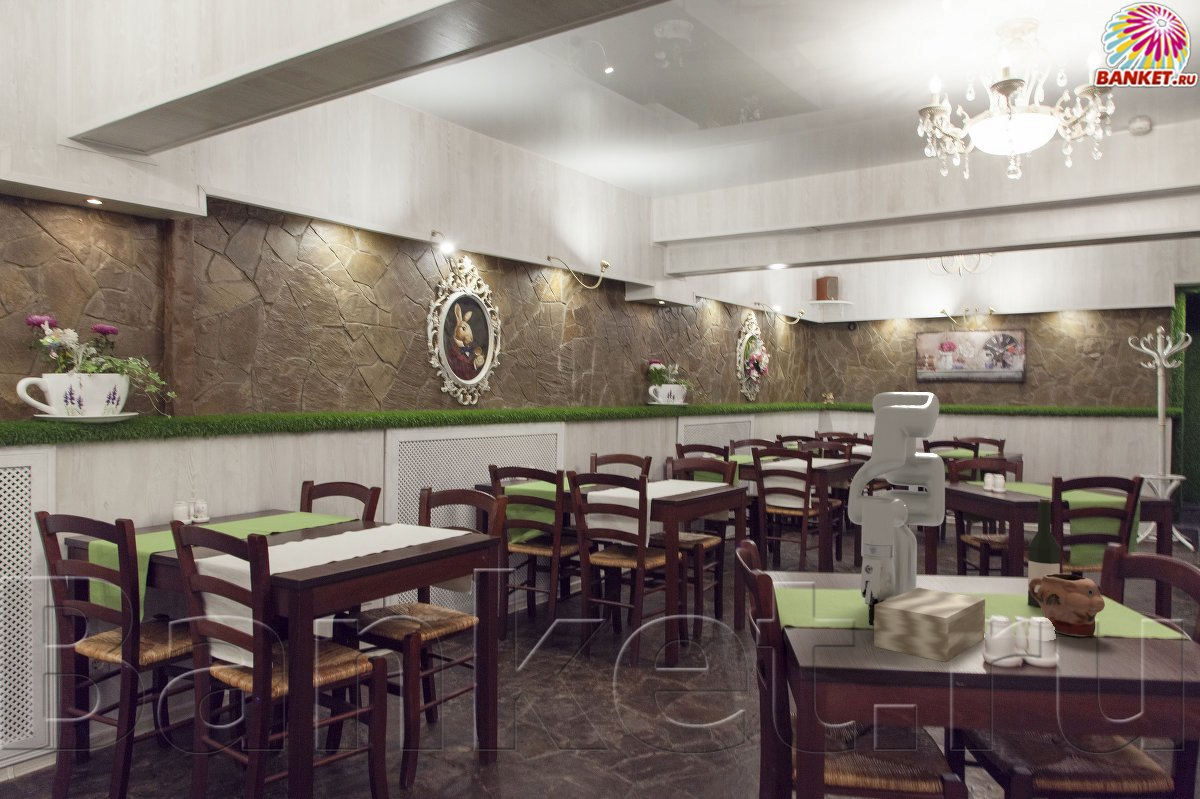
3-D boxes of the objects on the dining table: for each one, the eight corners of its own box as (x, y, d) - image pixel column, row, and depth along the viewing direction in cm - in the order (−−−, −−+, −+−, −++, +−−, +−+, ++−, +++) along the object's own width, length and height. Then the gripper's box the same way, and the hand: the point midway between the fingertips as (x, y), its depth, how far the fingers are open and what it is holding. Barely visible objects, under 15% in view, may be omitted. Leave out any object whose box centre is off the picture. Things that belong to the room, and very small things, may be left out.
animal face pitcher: (1011, 623, 207) (1012, 569, 207) (1041, 618, 212) (1041, 566, 213) (1089, 644, 189) (1090, 585, 189) (1119, 638, 195) (1120, 581, 195)
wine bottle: (1052, 602, 231) (1053, 498, 231) (1065, 609, 223) (1067, 501, 223) (1021, 601, 232) (1022, 497, 232) (1034, 608, 224) (1035, 500, 224)
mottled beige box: (874, 646, 184) (874, 604, 184) (917, 625, 204) (918, 587, 204) (945, 662, 174) (946, 618, 174) (984, 638, 193) (985, 598, 193)
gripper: (879, 556, 190) (878, 634, 189) (904, 549, 201) (903, 623, 200) (849, 552, 195) (848, 628, 194) (875, 545, 206) (874, 617, 205)
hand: (876, 625), depth 197 cm, fingers closed
